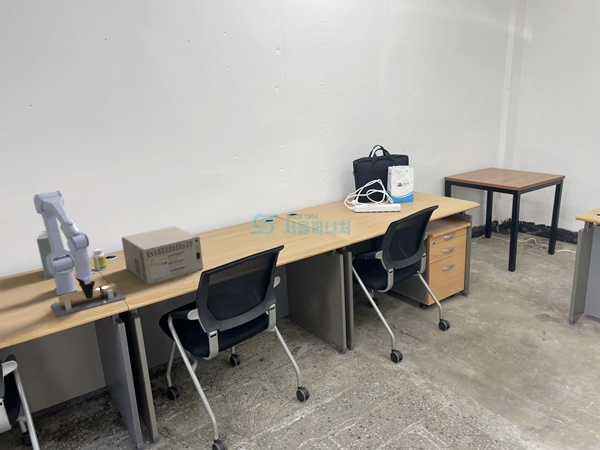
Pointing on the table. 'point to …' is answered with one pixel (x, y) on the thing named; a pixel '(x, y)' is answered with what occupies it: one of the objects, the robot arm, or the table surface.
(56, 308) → the gray cradle stand
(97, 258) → the supplement bottle
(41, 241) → the hard drive box
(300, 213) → the table surface
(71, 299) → the brass tube
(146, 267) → the beige vented electronics case
